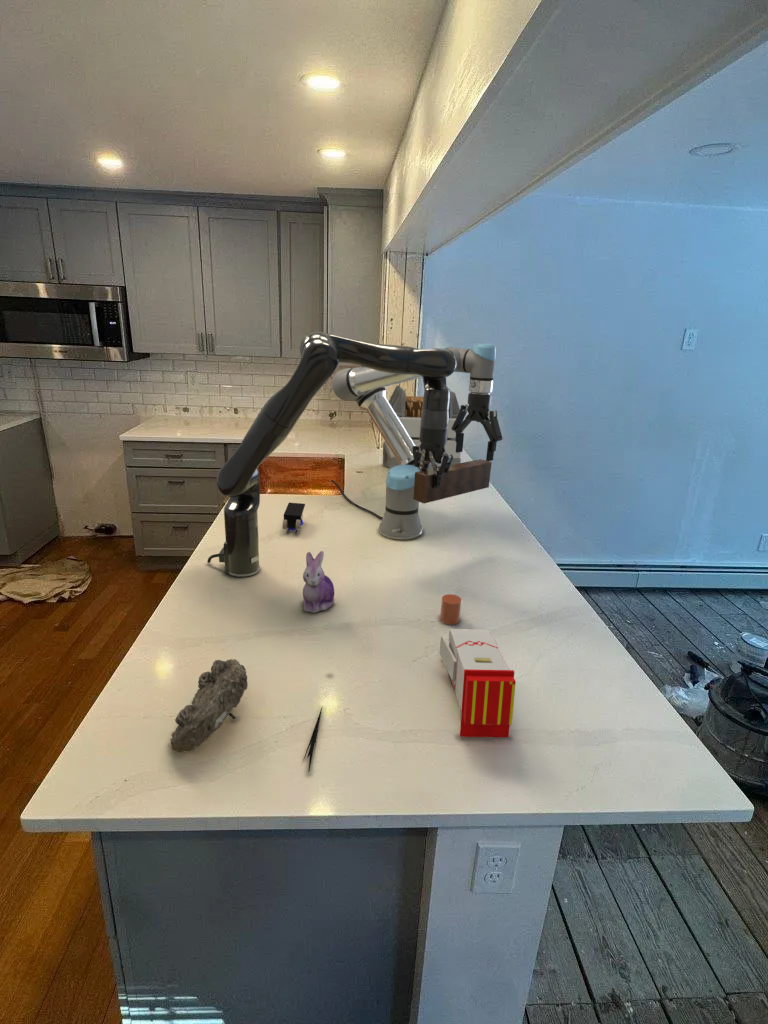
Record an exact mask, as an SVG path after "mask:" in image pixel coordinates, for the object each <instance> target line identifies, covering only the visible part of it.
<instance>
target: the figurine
mask: <svg viewBox="0 0 768 1024" xmlns="http://www.w3.org/2000/svg"><path fill="white" fill-rule="evenodd" d="M324 556H325V552H324V551H323V550H320V551H319V552H318V553H317V555H316V557H315V558H314V556H313V555H312V552H311V551H308V552H306V556H305V563H306V567H305V568H304V571H303V574H302V579H303V581H304V583H305V584H304V585H303V588H302V596H303V602H302V604H303V609H304V612H308V613H309V612H310V613H318V612H321V611H322V612H323V611H326V610H327V609H329V608H330V607H332V606H333V604H334V600H335V587H334V582H333V581H332V580H331V578H330V577H329V576H327V575H326V574H325V571H324V569H323V567H322V564H323V560H324Z"/></svg>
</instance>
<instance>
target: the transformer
mask: <svg viewBox="0 0 768 1024" xmlns="http://www.w3.org/2000/svg"><path fill="white" fill-rule="evenodd" d="M449 391H450V400H449V423H448V434H447V442H446V444H445V452H446V453H447V454H448V455H453V459H452V462H451V465H454V464H459V463H462V458H461V453H462V452H458V453H456V442H455V438H456V433H455V431H454V430H452V429H451V428H452V426H453V424H454V422H455V420H456V418H457V416H458V414H459V412H460V405H459V402H458V398H457V395H456V392H454V391H451V389H449ZM423 397H424V396H416V395H414V396H413V395H410V396H409V395H407V393H406V390H405V389H404V388H402V387H401V385H399V384H396V386H395V388H394V389H393V392H392V393H391V395H390V398H389V400H388V402H389V404H390V405H391V407H392V408H393V410H394V412H395V413H396V415H397V416H398V418H399V420H400V421H401V423H402V425H403V426H404V428H405V429H406V431H407V433H408V434H409V436H410V437H411V439H412V441H413V442H414V444H415V445H416V446H418V445H420V444H421V442H420V440H419V439H420V425H421V414H422V409H423ZM464 420H465V419H463V421H464ZM463 421H462V422H463ZM461 433H463V432H461ZM382 442H383V443H382V463H381V464H382V465H383V467H386V468H388V471H389V470H390V469H391V468H392V467H394V466H398V465H400V464H399V462H398V461H397V459H396V458H395V456H394V454H393V453H392V451H391V449H390V448H389V446H388V445H387V443H386V441H385V440H384V439H383V441H382ZM442 459H443V457H442ZM437 464H438V462H437Z"/></svg>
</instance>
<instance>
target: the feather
mask: <svg viewBox="0 0 768 1024" xmlns="http://www.w3.org/2000/svg"><path fill="white" fill-rule="evenodd" d="M329 675H330V676H331V675H332V674H331V673H330V674H329ZM322 710H323V707H321V708H320V710H319V713H318V716H317V719H316V723H315V725H314V728H313V731H312V733H311V737H310V739H309V742H308V745H307V748H306V751H305V754H304V757H303V760H302V763H301V767H302V765H303V763H304V761H305V758H308V759H309V760H308V762H307V763H308V764H307V766H308V771H310V770H311V766H312V765H311V764H312V760H313V757H315V756H314V755H315V751H316V749H315V746H317V739H318V733H319V729H320V722H321V717H322V712H323V711H322ZM313 754H314V755H313ZM306 755H307V757H306Z"/></svg>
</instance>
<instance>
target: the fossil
mask: <svg viewBox="0 0 768 1024" xmlns="http://www.w3.org/2000/svg"><path fill="white" fill-rule="evenodd" d="M197 683H198V684H197V687H198V690H197V691H196V693H195V694H194V697H193V698H192V701H191V704H187V705H185V706H184V707H183V708H182V709H181V710H179V712H178V713H177V715H176V717H175V719H174V721H175V723H176V725H177V726H176V728H175V730H174V731H173V732H172V733H171V735H170V736H171V738H170V747H171V750H172V751H176V752H178V753H186V752H190V751H193V752H195V751H197V750H198V749H199V748H200V747H201V746H202V745H203V744H204V743H205V742H207V741H208V740H209V739H210V737H211V736H212V735H213V734H215V733H216V731H218V730H219V729H220V728H221V726H222V725H223V723H224V721H225V720H226V719H227V718H228V717H230V718H232V720H235V719H236V716H235V715H234V714H233V713H232V710H233V709H235V708H237V706H238V705H239V704H240V702H241V700H242V698H243V696H244V693H245V691H246V690H247V689H248V686H249V685H248V675H247V669H246V668H245V666H244V665H243V664H241V663H240V661H238V660H237V659H236V658H234V659H232V658H230V659H226V660H221V659H216V660H214V661H213V662H212V665H211V667H210V671H208V670H207V671H205V672H201V674H200V675H199V676H198V681H197Z"/></svg>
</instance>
